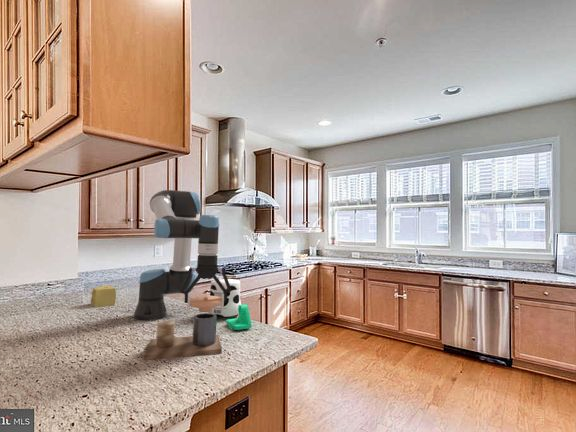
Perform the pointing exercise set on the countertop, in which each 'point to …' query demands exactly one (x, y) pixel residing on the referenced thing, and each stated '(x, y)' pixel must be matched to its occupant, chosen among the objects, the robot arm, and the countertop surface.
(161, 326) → the brown board with post
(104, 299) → the cheese
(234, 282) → the milk container
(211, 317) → the tube
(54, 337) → the countertop surface
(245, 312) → the camera mount
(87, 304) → the countertop surface
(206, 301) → the domed pot lid
